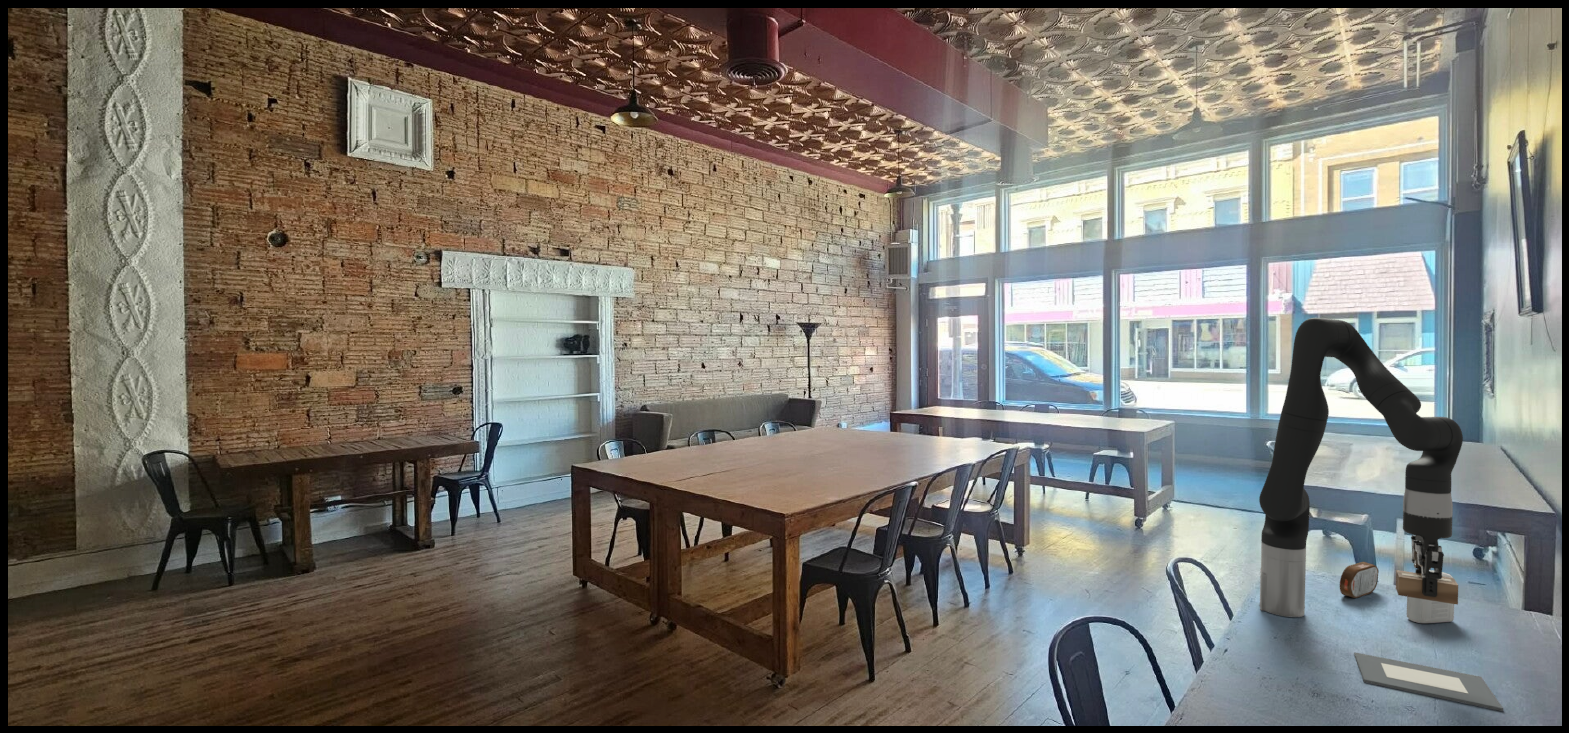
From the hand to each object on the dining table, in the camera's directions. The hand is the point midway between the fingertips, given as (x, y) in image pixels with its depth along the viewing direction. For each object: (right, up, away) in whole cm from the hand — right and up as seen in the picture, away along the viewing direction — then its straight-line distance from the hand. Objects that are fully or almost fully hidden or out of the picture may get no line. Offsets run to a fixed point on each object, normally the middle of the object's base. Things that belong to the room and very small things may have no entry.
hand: (1425, 591), depth 142 cm
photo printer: (+24, -16, +24) cm, 38 cm away
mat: (-5, -17, -4) cm, 18 cm away
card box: (0, -1, 0) cm, 1 cm away
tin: (+21, -15, +41) cm, 48 cm away
